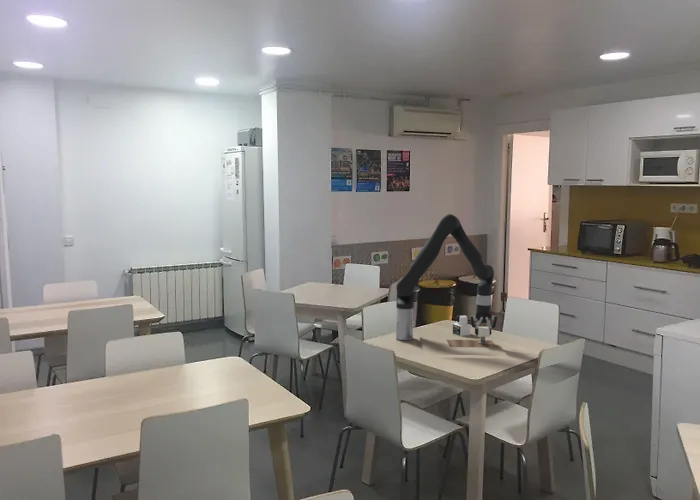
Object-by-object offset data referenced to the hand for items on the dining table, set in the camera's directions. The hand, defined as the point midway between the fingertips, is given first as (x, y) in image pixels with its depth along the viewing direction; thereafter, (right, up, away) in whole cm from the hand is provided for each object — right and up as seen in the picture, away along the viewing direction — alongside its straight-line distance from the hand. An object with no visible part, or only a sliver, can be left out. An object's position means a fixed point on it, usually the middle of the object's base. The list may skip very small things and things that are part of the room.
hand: (483, 335), depth 290 cm
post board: (-6, -6, +1) cm, 8 cm away
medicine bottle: (-7, -4, +21) cm, 22 cm away
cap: (0, 0, 0) cm, 0 cm away
